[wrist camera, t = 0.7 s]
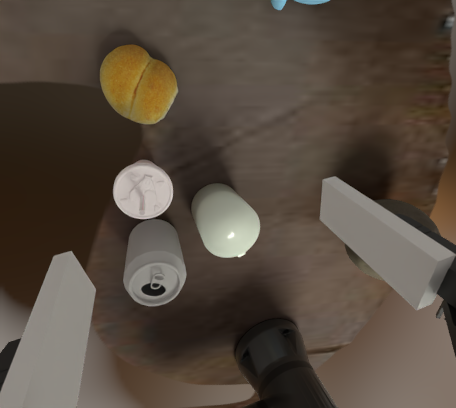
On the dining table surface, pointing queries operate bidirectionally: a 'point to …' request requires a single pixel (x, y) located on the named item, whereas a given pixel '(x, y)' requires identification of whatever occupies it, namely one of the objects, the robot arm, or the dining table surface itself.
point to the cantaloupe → (394, 208)
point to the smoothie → (143, 190)
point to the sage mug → (224, 220)
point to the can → (154, 263)
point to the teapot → (278, 3)
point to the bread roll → (137, 84)
